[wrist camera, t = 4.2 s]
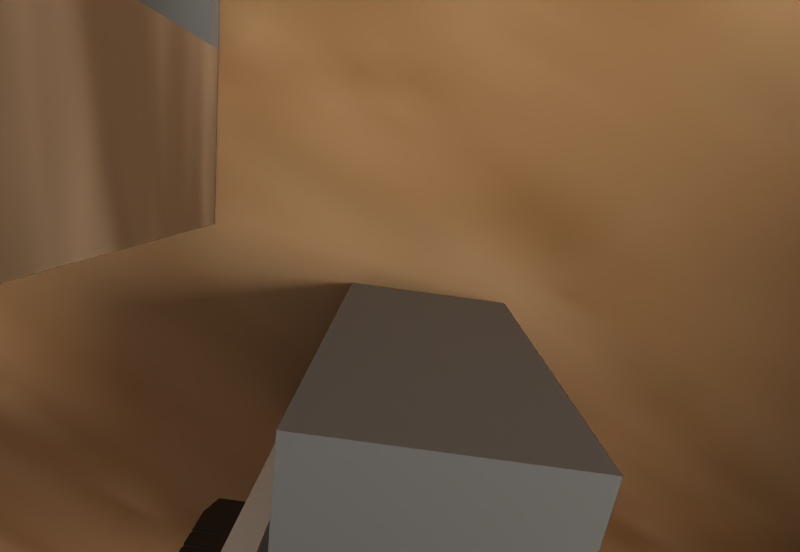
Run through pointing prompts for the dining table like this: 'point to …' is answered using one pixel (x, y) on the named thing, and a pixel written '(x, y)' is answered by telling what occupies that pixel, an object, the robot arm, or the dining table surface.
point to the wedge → (434, 438)
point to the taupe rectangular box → (104, 126)
